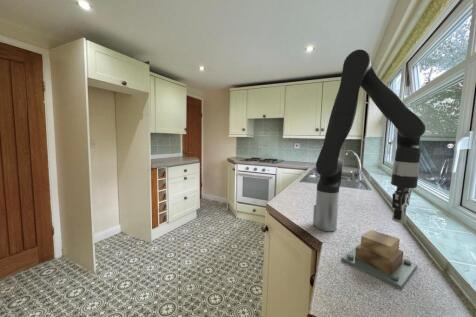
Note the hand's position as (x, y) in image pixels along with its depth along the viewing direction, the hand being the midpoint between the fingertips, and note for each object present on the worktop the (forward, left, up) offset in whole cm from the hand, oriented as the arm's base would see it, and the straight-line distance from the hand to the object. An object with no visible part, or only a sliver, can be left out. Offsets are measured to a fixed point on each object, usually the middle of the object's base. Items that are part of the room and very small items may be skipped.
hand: (399, 217), depth 76 cm
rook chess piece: (0, 0, -2) cm, 2 cm away
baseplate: (0, -20, -11) cm, 23 cm away
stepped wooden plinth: (0, -20, -11) cm, 23 cm away
